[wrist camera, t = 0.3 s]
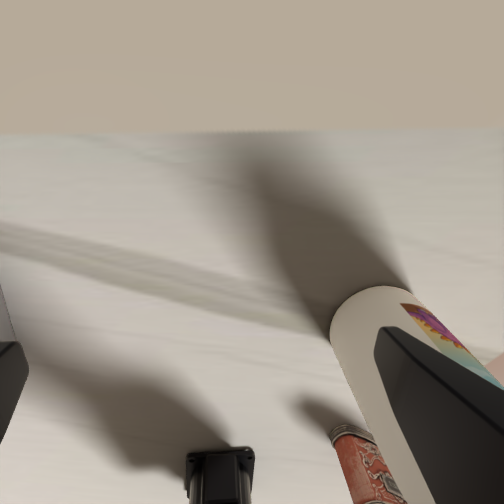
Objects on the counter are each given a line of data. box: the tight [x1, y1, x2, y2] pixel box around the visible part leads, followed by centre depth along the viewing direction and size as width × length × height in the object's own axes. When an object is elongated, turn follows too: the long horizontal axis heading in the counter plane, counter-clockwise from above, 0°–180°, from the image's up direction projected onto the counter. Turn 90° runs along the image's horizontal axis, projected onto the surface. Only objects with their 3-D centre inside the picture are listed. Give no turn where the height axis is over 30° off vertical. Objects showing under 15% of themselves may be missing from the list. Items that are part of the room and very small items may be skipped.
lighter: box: [330, 425, 408, 504], centre depth 29 cm, size 8×3×10 cm, turn 48°
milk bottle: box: [330, 286, 504, 504], centre depth 18 cm, size 8×8×20 cm
